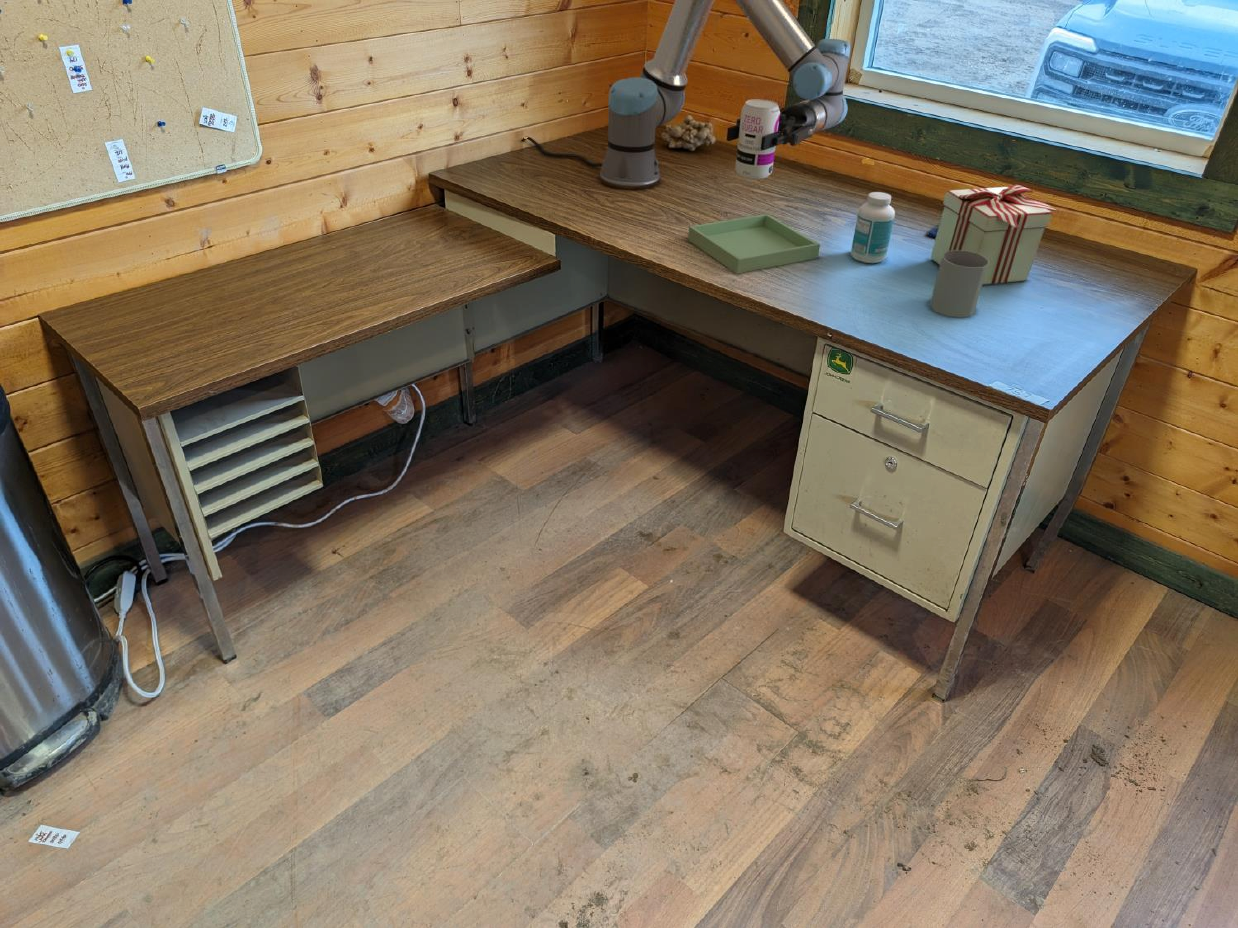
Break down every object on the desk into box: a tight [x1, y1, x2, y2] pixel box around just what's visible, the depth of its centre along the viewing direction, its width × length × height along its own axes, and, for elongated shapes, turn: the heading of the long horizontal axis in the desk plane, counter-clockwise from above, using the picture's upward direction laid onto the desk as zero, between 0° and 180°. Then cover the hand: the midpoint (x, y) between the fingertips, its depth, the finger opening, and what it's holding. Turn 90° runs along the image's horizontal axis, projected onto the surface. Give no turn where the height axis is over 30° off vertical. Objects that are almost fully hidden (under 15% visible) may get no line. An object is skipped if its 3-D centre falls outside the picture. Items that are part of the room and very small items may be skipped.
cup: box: [929, 250, 989, 319], centre depth 168 cm, size 8×8×10 cm
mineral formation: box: [661, 114, 717, 152], centre depth 248 cm, size 8×13×15 cm
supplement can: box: [734, 98, 781, 180], centre depth 193 cm, size 8×8×15 cm
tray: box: [687, 213, 821, 274], centre depth 190 cm, size 20×21×3 cm
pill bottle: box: [850, 191, 896, 264], centre depth 185 cm, size 8×7×14 cm
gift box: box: [930, 184, 1060, 286], centre depth 180 cm, size 17×18×17 cm
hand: (745, 139), depth 189 cm, fingers closed on supplement can, 8 cm apart
